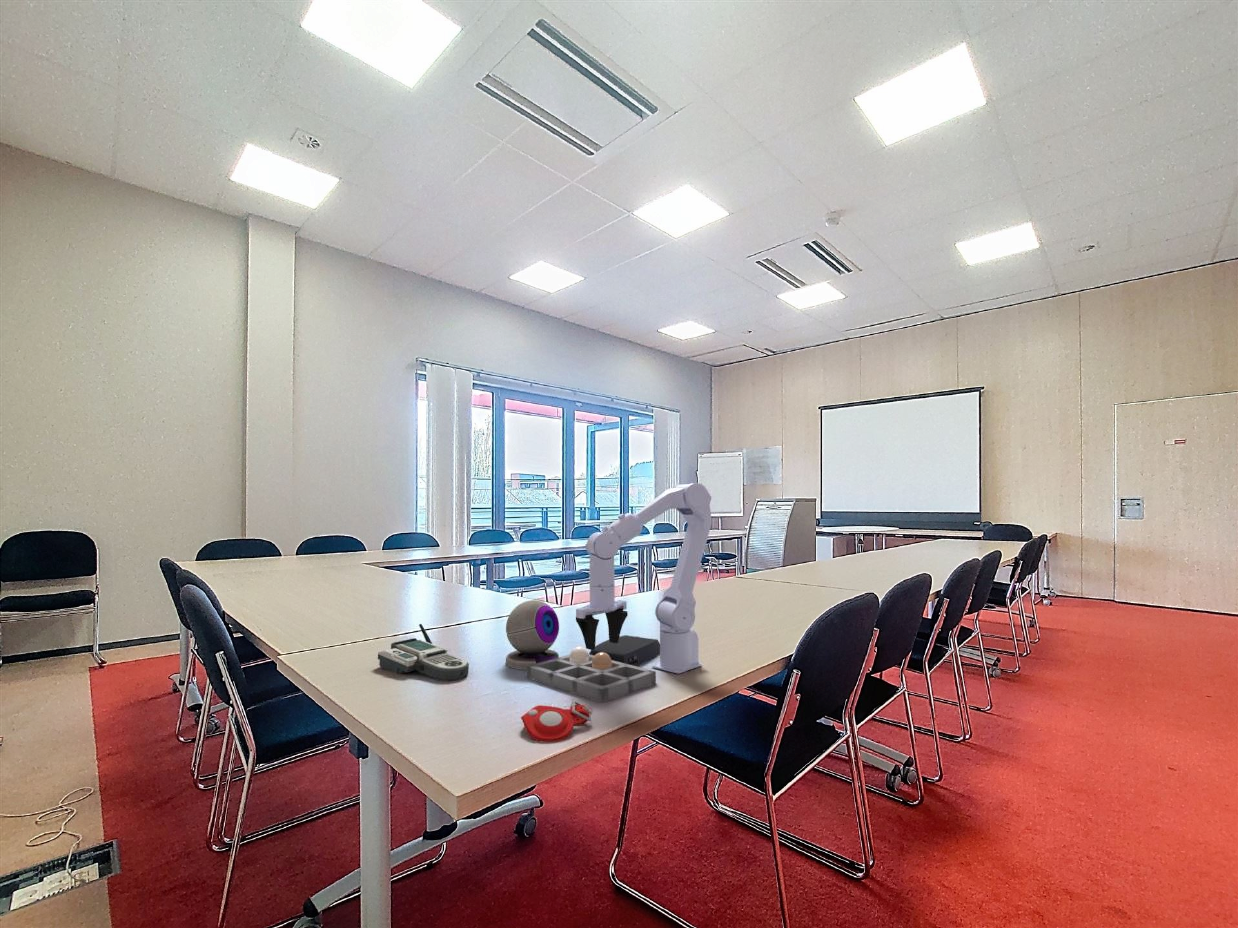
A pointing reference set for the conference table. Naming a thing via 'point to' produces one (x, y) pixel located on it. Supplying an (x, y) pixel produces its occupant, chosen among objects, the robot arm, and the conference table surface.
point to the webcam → (531, 634)
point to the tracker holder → (554, 721)
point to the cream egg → (579, 655)
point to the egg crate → (591, 677)
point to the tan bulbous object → (601, 661)
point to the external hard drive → (629, 649)
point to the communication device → (423, 659)
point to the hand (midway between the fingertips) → (602, 645)
